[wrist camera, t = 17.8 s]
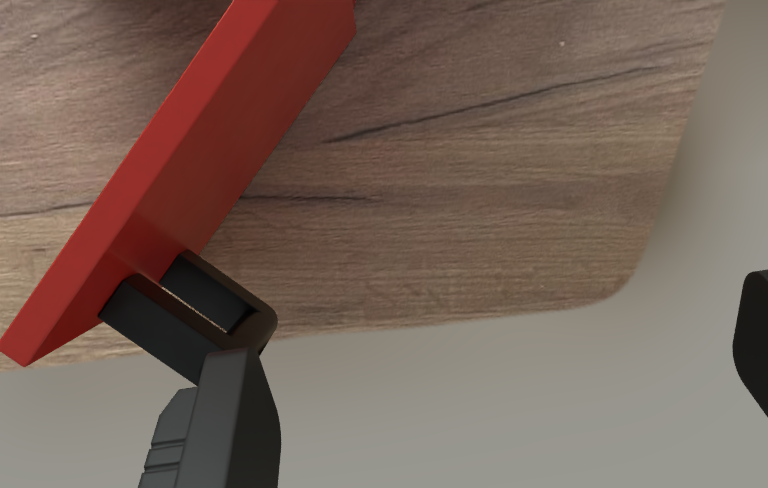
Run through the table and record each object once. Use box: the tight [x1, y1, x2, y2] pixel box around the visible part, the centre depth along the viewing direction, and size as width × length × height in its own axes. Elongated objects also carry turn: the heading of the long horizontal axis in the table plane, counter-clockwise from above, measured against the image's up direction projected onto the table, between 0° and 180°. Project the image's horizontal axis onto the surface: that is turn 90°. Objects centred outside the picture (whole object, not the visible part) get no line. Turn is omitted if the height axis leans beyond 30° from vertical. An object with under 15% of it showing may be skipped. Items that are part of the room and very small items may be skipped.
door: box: [0, 0, 357, 386], centre depth 26 cm, size 6×15×16 cm, turn 144°
